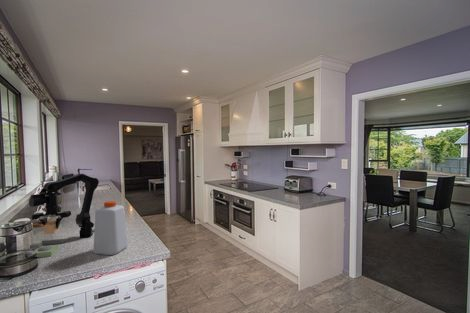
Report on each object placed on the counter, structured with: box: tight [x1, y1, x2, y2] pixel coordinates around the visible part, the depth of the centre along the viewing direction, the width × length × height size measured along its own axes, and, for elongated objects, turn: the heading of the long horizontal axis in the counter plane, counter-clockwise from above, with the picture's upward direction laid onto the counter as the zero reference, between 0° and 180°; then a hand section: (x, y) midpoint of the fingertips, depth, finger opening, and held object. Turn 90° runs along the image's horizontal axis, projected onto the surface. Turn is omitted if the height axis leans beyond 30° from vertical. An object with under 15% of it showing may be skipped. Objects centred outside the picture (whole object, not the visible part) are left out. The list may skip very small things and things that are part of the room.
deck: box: [33, 238, 66, 258], centre depth 148 cm, size 13×21×3 cm, turn 15°
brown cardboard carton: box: [43, 219, 61, 235], centre depth 152 cm, size 5×8×6 cm, turn 15°
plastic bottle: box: [93, 200, 129, 256], centre depth 147 cm, size 15×15×28 cm
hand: (52, 229), depth 152 cm, fingers closed on brown cardboard carton, 5 cm apart
